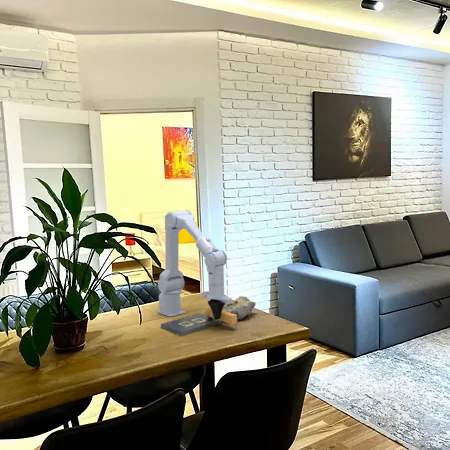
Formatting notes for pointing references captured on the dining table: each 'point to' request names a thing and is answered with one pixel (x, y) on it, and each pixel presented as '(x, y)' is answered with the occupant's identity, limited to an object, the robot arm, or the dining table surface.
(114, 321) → the dining table surface
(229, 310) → the geode
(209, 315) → the orange rectangular block
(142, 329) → the dining table surface
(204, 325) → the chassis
